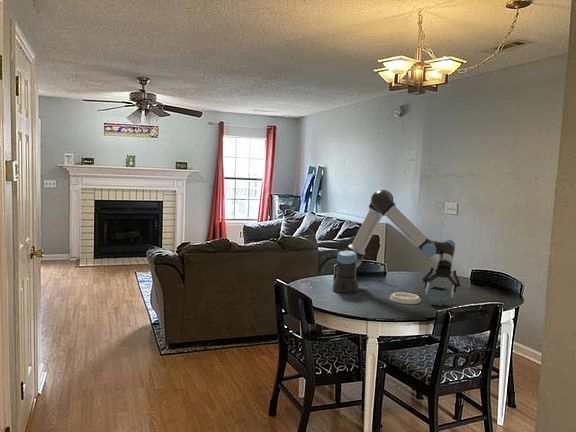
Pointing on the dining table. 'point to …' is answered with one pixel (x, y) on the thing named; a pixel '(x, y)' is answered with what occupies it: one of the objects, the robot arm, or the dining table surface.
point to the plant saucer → (405, 298)
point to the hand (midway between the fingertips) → (438, 294)
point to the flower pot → (438, 295)
